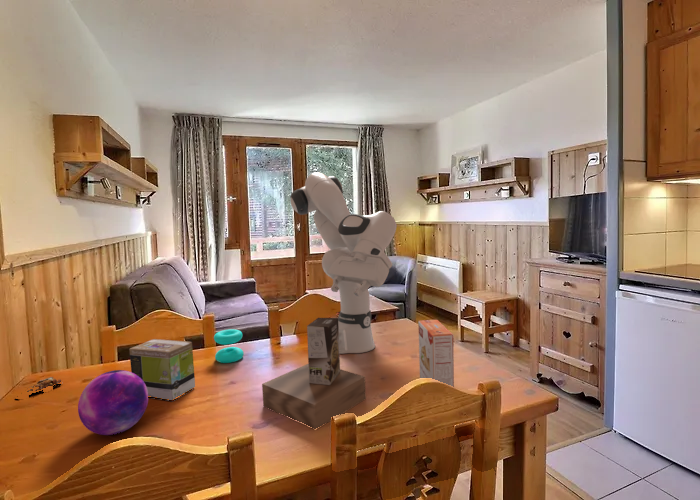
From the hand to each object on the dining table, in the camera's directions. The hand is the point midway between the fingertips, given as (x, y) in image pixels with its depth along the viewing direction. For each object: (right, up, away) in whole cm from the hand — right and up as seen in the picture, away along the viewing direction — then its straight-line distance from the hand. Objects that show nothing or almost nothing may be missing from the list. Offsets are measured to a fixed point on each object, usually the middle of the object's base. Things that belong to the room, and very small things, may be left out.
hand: (344, 292), depth 118 cm
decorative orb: (-57, -33, -17) cm, 67 cm away
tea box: (-54, -31, +4) cm, 62 cm away
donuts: (-42, -28, +30) cm, 59 cm away
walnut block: (-8, -30, -6) cm, 32 cm away
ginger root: (-95, -32, +7) cm, 100 cm away
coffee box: (-5, -23, -5) cm, 25 cm away
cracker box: (+25, -29, -7) cm, 39 cm away
